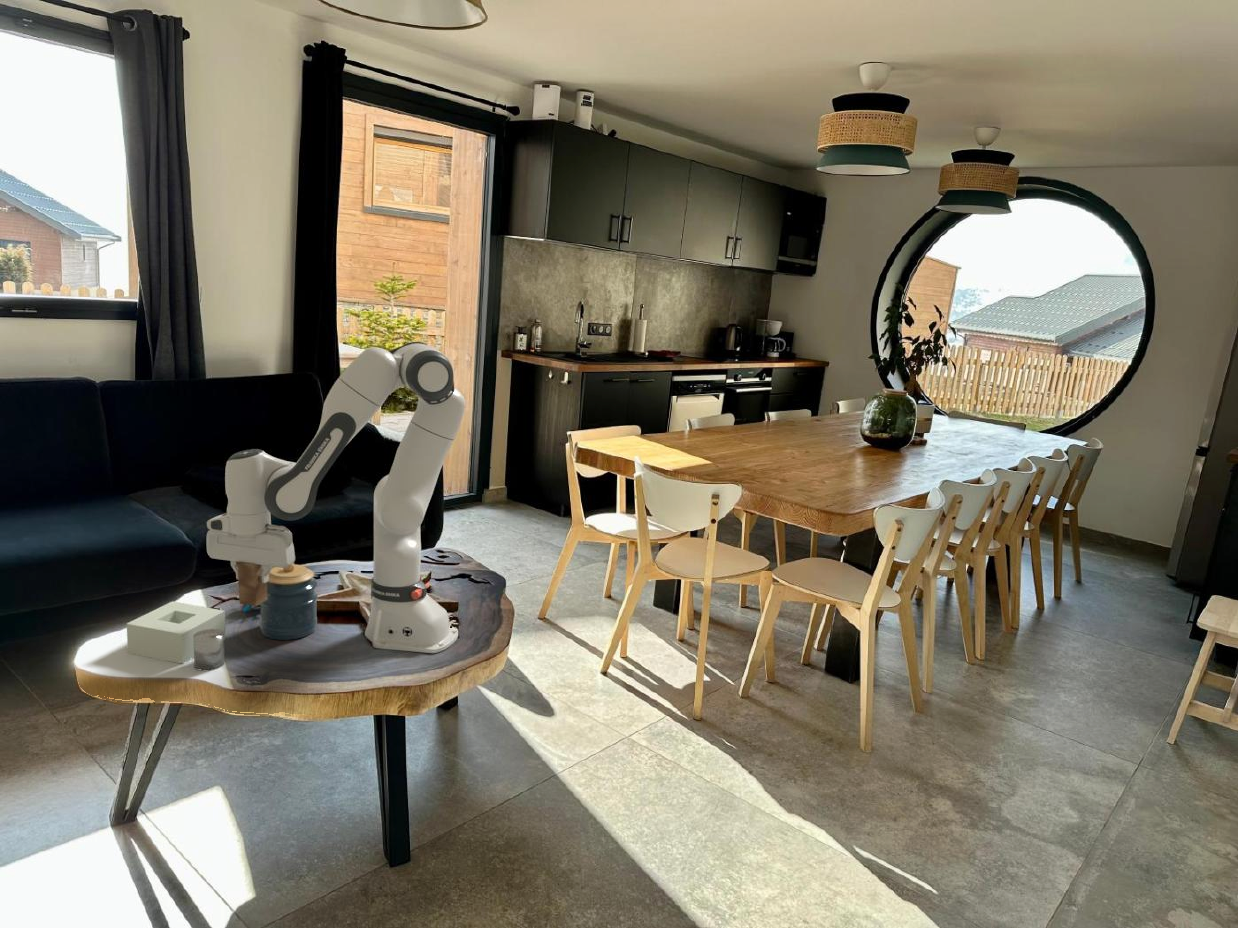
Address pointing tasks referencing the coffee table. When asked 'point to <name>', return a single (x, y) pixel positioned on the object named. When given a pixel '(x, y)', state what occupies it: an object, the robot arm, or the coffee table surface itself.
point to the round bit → (208, 649)
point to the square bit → (251, 584)
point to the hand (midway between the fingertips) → (252, 580)
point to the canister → (289, 603)
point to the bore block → (171, 631)
